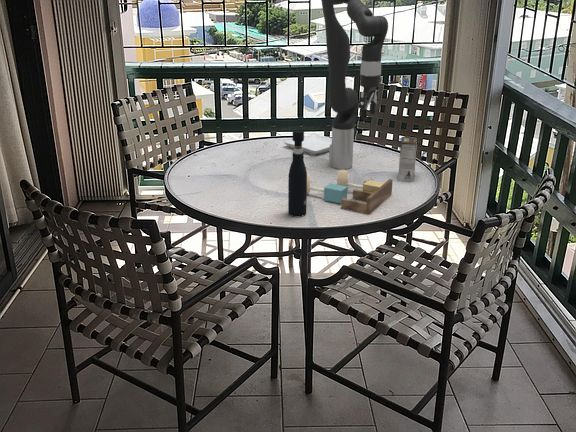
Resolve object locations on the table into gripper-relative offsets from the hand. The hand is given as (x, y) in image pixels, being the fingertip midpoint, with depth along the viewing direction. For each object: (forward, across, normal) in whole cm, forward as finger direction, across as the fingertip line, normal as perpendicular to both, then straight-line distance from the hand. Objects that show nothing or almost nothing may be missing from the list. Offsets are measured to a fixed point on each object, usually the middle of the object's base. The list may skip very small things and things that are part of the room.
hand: (368, 116), depth 235 cm
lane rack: (+28, +14, +7) cm, 32 cm away
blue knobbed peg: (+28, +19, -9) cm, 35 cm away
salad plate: (+29, -36, -40) cm, 61 cm away
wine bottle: (+28, +37, -10) cm, 48 cm away
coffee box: (+28, -18, +11) cm, 35 cm away
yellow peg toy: (+28, +9, +2) cm, 29 cm away
